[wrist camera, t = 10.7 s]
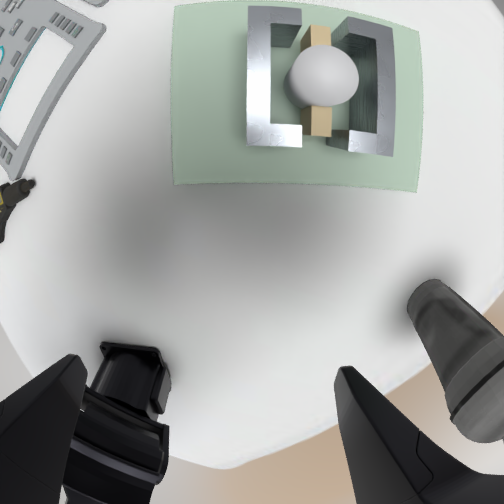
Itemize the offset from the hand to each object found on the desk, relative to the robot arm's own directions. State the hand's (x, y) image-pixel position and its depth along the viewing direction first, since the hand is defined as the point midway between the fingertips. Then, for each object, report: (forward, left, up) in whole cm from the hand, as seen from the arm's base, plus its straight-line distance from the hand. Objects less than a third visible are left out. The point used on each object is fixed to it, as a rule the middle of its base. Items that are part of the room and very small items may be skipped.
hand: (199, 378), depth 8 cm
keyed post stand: (+5, +10, -12) cm, 16 cm away
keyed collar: (+5, +10, -11) cm, 15 cm away
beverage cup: (+18, -6, -12) cm, 22 cm away
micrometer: (-21, +3, -13) cm, 25 cm away
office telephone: (-18, +20, -13) cm, 30 cm away
